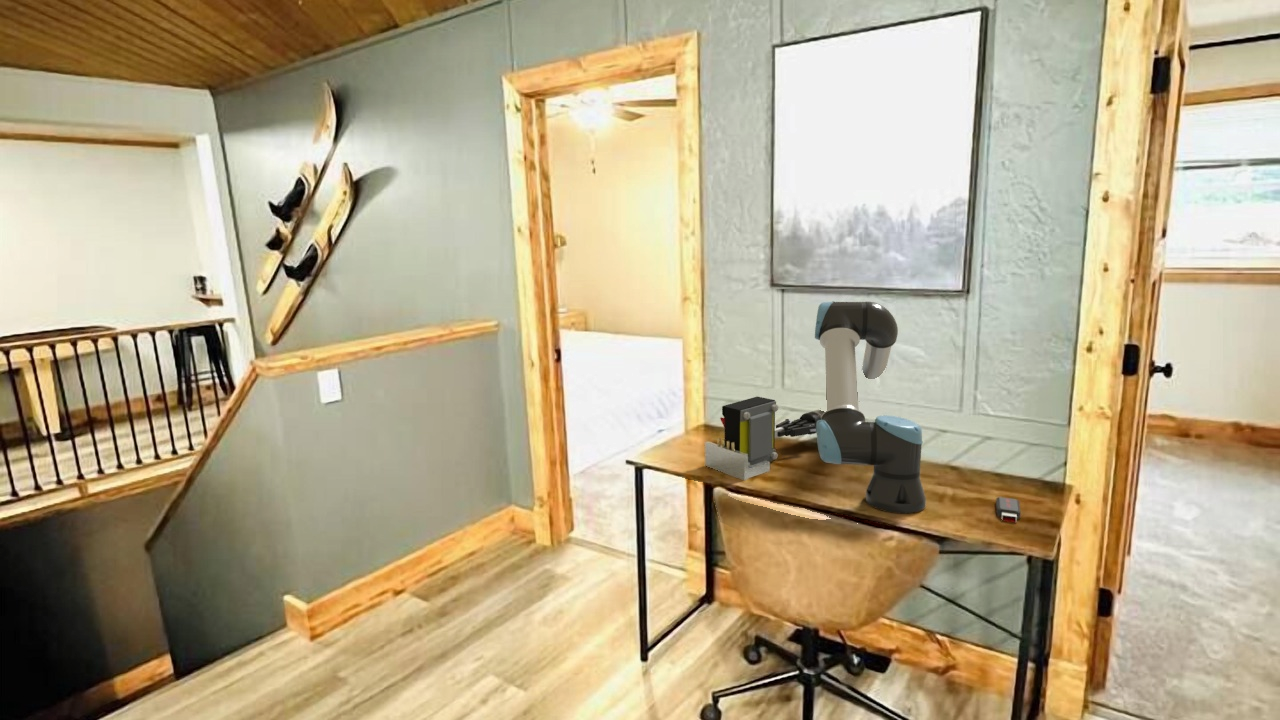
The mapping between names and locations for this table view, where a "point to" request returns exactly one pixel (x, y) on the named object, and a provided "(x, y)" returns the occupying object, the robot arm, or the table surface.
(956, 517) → the table surface
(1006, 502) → the usb drive
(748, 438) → the electrical component
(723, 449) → the mounting bracket
